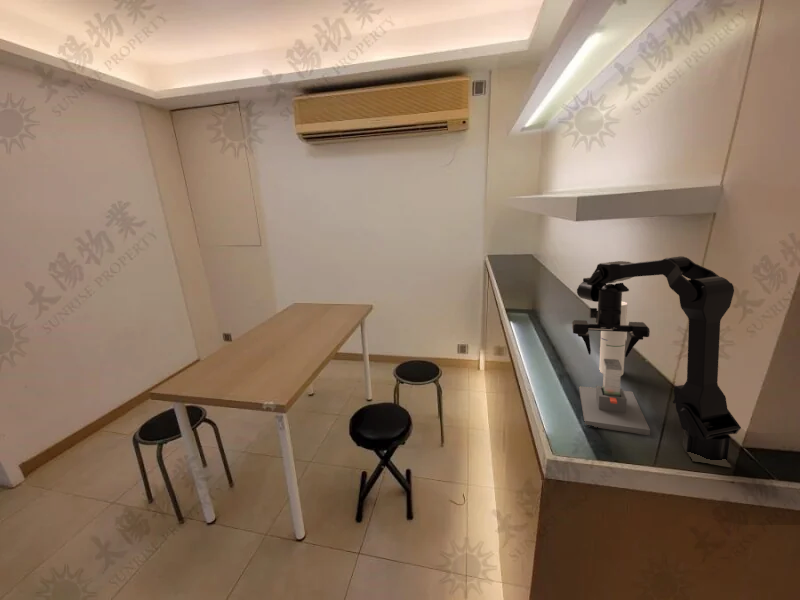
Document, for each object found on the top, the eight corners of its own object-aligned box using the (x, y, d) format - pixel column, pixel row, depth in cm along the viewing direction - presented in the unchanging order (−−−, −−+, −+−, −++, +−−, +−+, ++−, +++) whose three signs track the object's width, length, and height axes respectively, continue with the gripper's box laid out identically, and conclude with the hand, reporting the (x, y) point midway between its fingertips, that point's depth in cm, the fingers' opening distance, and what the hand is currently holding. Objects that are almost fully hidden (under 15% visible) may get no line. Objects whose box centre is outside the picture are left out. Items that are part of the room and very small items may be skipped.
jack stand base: (632, 396, 98) (633, 379, 97) (649, 435, 80) (651, 415, 79) (579, 390, 104) (579, 374, 103) (585, 425, 86) (585, 406, 85)
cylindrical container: (609, 366, 119) (612, 299, 114) (628, 373, 112) (632, 303, 107) (594, 370, 117) (597, 302, 112) (612, 378, 110) (616, 306, 105)
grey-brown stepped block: (616, 390, 93) (618, 359, 91) (620, 398, 88) (621, 366, 86) (602, 388, 94) (603, 358, 92) (604, 396, 90) (606, 365, 88)
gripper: (641, 299, 97) (638, 348, 101) (571, 298, 105) (570, 344, 109) (651, 308, 88) (647, 362, 91) (573, 307, 96) (572, 356, 99)
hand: (607, 355), depth 98 cm, fingers open, 9 cm apart
